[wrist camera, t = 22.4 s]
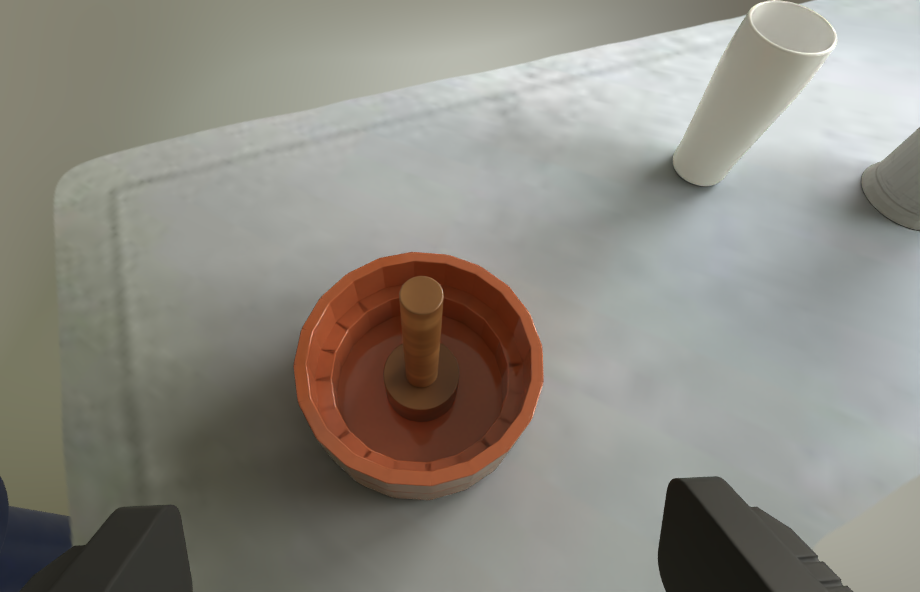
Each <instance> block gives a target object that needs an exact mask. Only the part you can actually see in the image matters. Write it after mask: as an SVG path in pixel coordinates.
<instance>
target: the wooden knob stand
mask: <svg viewBox="0 0 920 592" xmlns="http://www.w3.org/2000/svg"><path fill="white" fill-rule="evenodd" d="M443 299H444V293H443V289H442V287H441V286H440V284H439V283H438V282H437V281H435V280H434V279H432V278H430V277H426V276H417V277H413V278H411V279H409V280H407V281H406V282H405V283H404V284H403V285H402V287H401V289H400V292H399V301H400V313H401V325H402V338H403V343H402V344H401V345H399V346H398V347H396V348H395V349H394V350H393V351H392V352H391V354H390V355H389V357H388V358H387V360H386V363H385V366H384V372H383V379H384V384H385V389H386V394H387V398H388V401H389V403H390V405H391V407H392V408H393V409H394V410H395V411H396V412H397V413H398V414H399V415H400V416H402V417H404V418H406V419H408V420H411V421H416V422H427V421H431V420H434V419H437V418H438V417H440V416H442V415H443V414H445V413H446V412H447V411H448V410H449V408H450V407H451V406H452V404H453V402H454V400H455V397H456V393H457V388H458V383H459V374H460V372H459V366H458V362H457V360H456V358H455V356H454V354H453V353H452V352H451V351H450V350H449V349H448V348H447V347H446V346H445V345H443V344H441V343H440V338H441V325H442V312H443Z"/></svg>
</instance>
